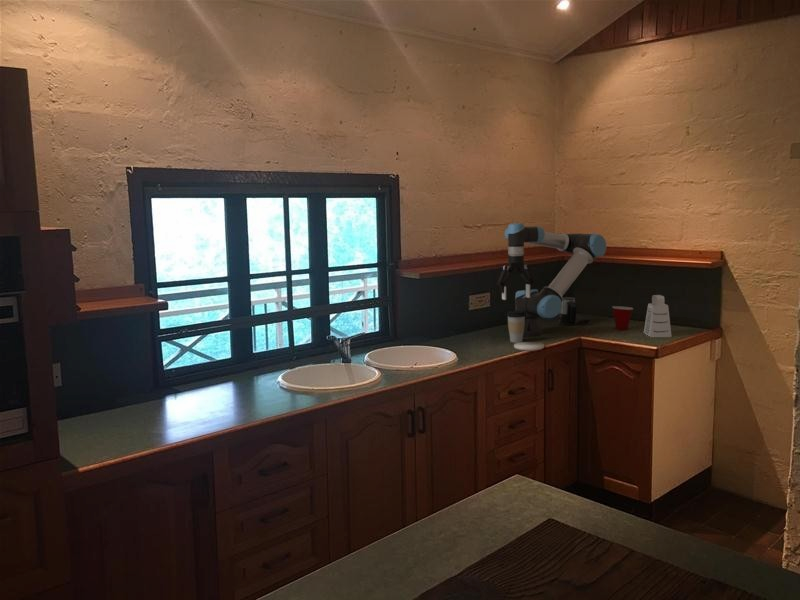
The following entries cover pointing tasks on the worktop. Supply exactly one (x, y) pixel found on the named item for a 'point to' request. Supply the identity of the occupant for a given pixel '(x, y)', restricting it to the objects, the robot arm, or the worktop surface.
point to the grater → (657, 318)
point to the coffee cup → (516, 325)
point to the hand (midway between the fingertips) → (516, 298)
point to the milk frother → (569, 312)
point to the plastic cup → (622, 316)
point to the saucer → (529, 346)
